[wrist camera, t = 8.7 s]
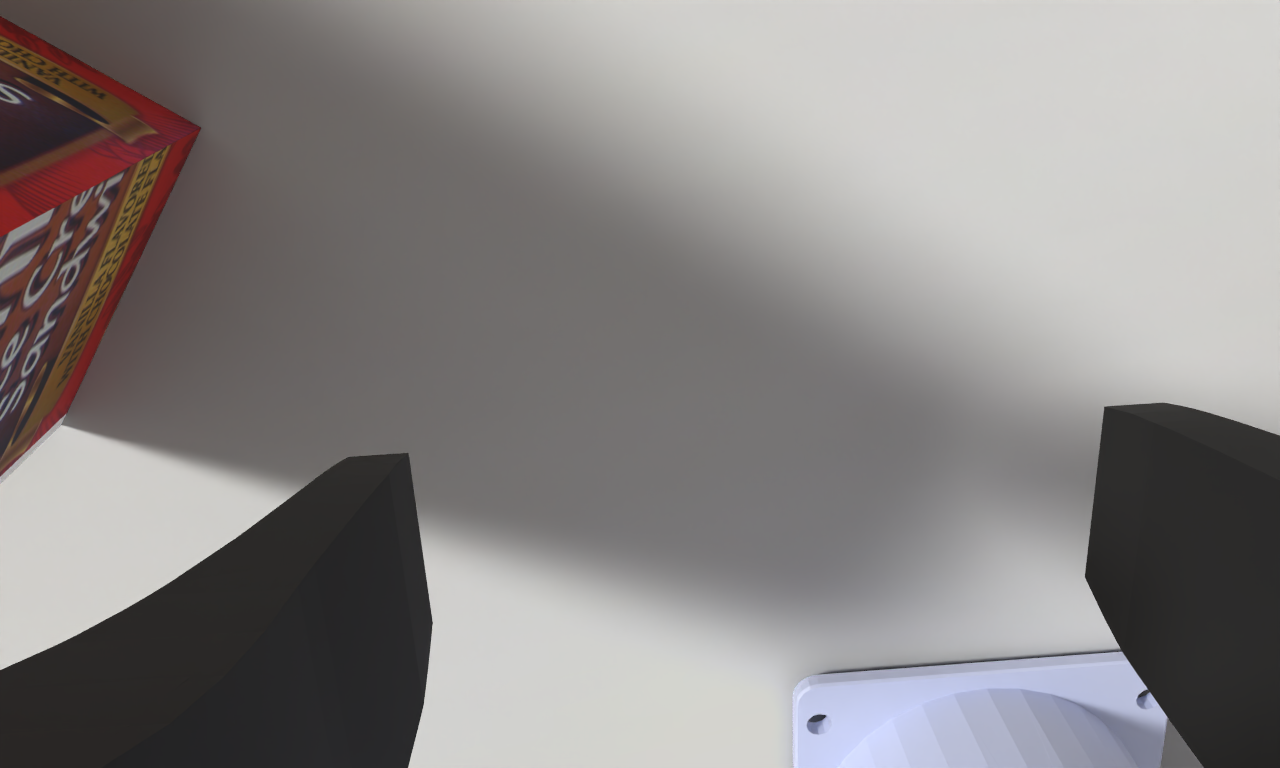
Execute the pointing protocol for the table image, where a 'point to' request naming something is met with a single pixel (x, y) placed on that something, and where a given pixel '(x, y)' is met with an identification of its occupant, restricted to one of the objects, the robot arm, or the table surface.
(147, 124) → the ice cream box
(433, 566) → the table surface
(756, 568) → the table surface
